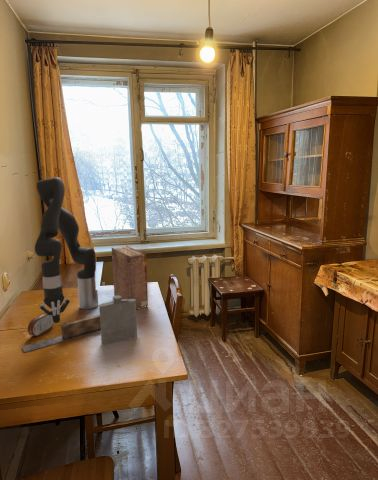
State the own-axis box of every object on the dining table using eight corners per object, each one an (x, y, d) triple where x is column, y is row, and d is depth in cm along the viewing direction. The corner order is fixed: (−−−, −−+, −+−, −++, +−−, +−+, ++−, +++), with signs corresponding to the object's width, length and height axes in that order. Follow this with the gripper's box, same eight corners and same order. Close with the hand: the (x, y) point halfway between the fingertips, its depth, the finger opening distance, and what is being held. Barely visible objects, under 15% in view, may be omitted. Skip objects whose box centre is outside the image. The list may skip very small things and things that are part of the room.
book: (114, 297, 208) (111, 247, 202) (128, 293, 213) (126, 245, 207) (132, 311, 188) (130, 256, 182) (148, 307, 193) (146, 253, 187)
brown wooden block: (101, 325, 170) (100, 313, 169) (104, 328, 167) (103, 316, 166) (62, 336, 160) (61, 323, 158) (64, 339, 156) (63, 326, 155)
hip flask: (102, 344, 152) (99, 301, 148) (100, 340, 156) (97, 298, 152) (138, 337, 159) (136, 295, 155) (135, 333, 162) (133, 292, 158)
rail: (102, 325, 171) (102, 324, 171) (106, 329, 167) (106, 328, 167) (21, 347, 151) (21, 346, 150) (24, 352, 147) (24, 351, 146)
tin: (51, 324, 173) (49, 308, 171) (56, 325, 172) (54, 309, 170) (28, 338, 159) (26, 321, 157) (33, 339, 158) (31, 322, 156)
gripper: (65, 279, 158) (69, 315, 162) (34, 285, 150) (38, 323, 154) (70, 284, 152) (74, 321, 156) (38, 290, 144) (43, 329, 148)
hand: (56, 322), depth 155 cm, fingers closed
